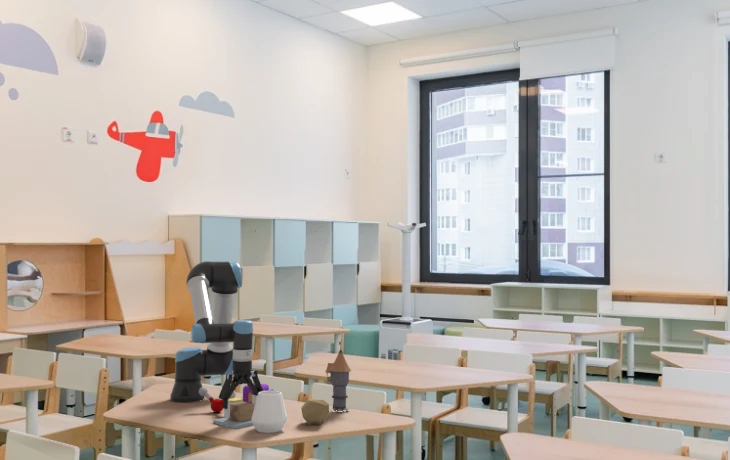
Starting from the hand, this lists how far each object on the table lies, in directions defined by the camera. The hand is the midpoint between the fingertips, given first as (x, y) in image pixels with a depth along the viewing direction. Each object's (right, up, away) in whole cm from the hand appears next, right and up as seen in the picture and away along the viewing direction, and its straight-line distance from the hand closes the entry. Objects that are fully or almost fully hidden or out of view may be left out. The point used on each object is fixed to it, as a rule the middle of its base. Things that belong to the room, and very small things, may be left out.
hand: (240, 414), depth 276 cm
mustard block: (-5, -4, +11) cm, 12 cm away
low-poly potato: (+30, -4, +1) cm, 30 cm away
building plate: (0, -3, 0) cm, 3 cm away
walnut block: (0, -2, 0) cm, 2 cm away
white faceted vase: (+13, -3, -12) cm, 17 cm away
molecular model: (-13, -4, +18) cm, 23 cm away
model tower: (+37, -5, +25) cm, 45 cm away
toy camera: (+3, -5, +31) cm, 31 cm away
